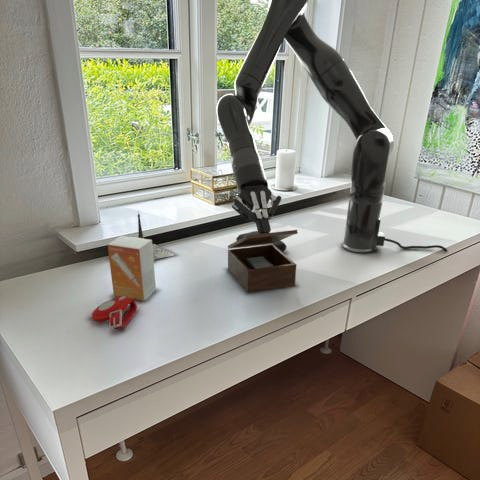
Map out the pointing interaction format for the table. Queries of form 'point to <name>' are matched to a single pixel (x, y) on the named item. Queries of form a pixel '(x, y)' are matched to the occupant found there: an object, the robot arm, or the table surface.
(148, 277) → the small box
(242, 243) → the cover
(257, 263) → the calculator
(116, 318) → the tracker holder
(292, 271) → the case
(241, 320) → the table surface
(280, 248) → the carrying case
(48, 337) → the table surface
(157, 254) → the eiffel tower figurine
